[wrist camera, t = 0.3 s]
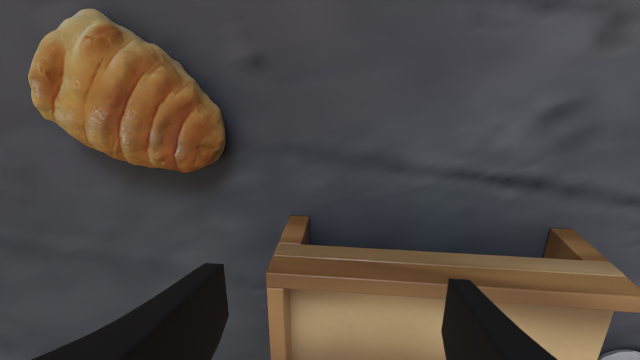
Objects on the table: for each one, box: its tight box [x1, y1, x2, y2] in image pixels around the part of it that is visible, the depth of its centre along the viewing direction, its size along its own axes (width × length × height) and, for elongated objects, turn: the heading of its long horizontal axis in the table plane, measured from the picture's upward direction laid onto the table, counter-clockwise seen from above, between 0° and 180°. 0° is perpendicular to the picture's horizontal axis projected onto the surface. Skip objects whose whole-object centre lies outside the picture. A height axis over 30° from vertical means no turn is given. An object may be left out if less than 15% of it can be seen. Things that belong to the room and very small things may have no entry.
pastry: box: [28, 9, 226, 173], centre depth 19 cm, size 9×7×4 cm
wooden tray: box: [266, 216, 640, 360], centre depth 21 cm, size 14×16×6 cm
